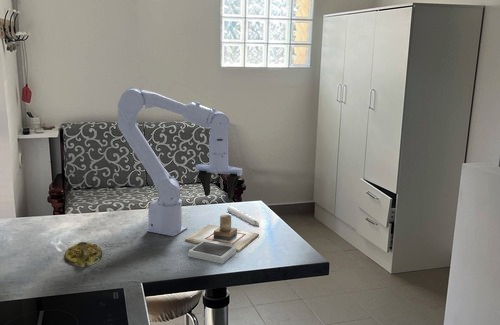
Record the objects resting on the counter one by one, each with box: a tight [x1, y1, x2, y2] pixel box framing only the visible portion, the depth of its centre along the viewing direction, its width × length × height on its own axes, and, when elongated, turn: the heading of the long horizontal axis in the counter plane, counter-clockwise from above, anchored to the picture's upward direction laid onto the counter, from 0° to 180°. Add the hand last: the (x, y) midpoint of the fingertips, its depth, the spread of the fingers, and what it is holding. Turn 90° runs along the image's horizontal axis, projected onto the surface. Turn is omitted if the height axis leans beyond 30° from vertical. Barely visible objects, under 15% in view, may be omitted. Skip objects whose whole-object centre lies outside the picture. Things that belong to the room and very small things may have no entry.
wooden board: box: [184, 224, 260, 252], centre depth 143 cm, size 17×14×1 cm
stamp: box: [214, 214, 238, 241], centre depth 141 cm, size 5×5×6 cm
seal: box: [64, 241, 103, 268], centre depth 128 cm, size 9×5×15 cm
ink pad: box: [188, 241, 237, 264], centre depth 131 cm, size 10×8×2 cm
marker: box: [226, 205, 260, 227], centre depth 161 cm, size 18×2×2 cm, turn 33°
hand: (218, 196), depth 148 cm, fingers open, 7 cm apart
